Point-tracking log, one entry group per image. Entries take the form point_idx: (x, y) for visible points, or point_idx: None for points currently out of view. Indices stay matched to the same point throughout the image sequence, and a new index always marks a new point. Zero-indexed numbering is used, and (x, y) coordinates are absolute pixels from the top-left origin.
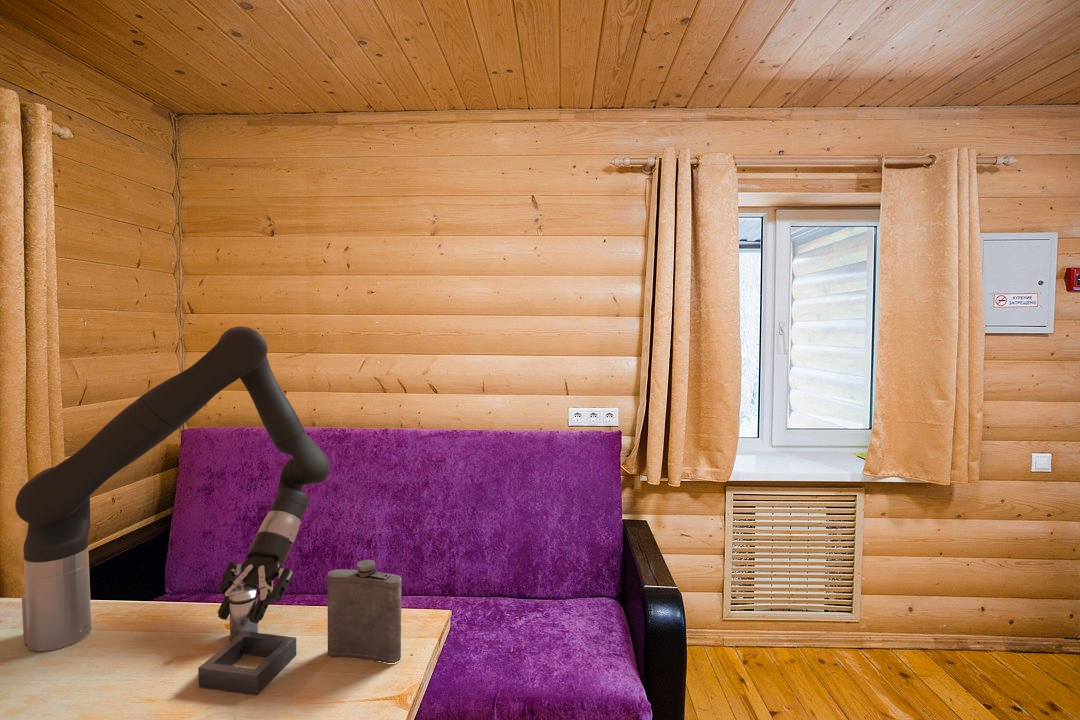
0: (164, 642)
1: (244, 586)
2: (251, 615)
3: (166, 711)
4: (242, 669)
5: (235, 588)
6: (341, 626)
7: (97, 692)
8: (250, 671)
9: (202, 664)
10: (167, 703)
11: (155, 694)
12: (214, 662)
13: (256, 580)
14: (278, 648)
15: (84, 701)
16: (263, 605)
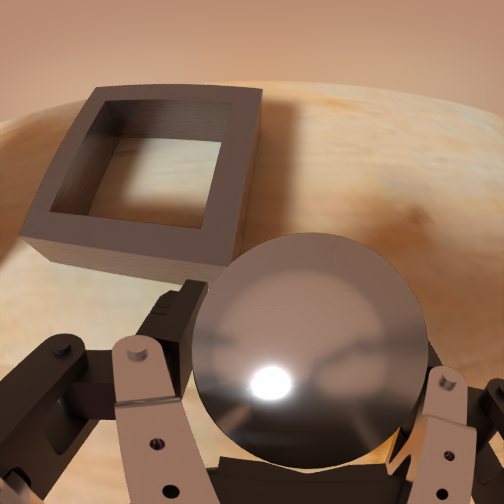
0: (493, 302)
1: (356, 423)
2: (202, 291)
3: (278, 81)
4: (135, 94)
5: (412, 370)
6: None
7: (452, 132)
8: (113, 92)
9: (260, 98)
10: (294, 95)
11: (343, 115)
12: (231, 108)
13: (257, 491)
14: (59, 177)
15: (446, 115)
16: (140, 329)
